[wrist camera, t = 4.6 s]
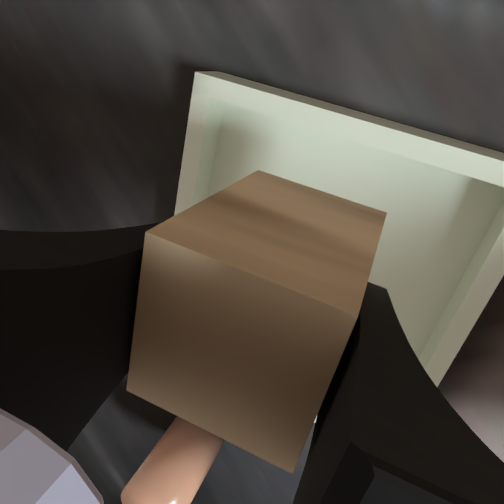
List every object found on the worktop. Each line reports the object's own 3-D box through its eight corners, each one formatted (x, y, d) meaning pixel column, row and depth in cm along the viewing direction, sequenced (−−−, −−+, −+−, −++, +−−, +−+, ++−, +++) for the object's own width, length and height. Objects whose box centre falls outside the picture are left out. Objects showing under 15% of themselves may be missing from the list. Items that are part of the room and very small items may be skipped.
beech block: (342, 324, 14) (292, 473, 9) (232, 279, 15) (126, 390, 9) (386, 212, 12) (358, 316, 7) (257, 169, 13) (145, 231, 8)
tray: (545, 164, 16) (561, 177, 14) (396, 427, 22) (394, 460, 21) (218, 71, 19) (195, 71, 17) (175, 326, 26) (154, 347, 24)
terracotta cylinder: (228, 424, 27) (181, 508, 22) (218, 460, 29) (172, 545, 24) (179, 400, 28) (123, 475, 23) (172, 436, 30) (118, 513, 24)
